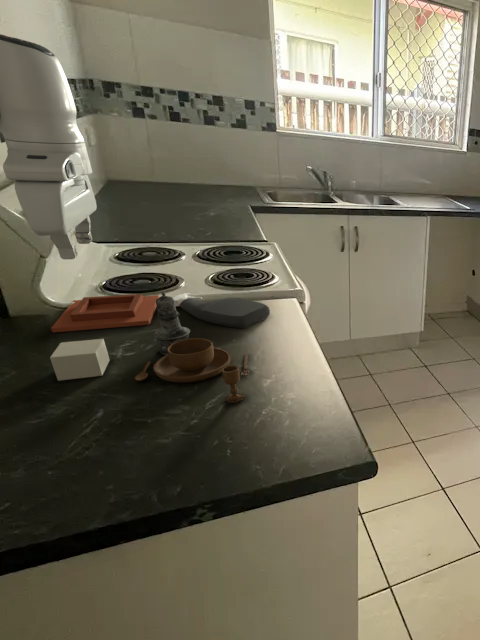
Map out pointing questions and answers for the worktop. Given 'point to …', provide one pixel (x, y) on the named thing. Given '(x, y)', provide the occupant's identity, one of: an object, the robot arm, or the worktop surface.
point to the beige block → (80, 359)
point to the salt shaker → (169, 324)
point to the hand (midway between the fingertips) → (78, 250)
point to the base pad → (107, 312)
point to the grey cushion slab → (224, 310)
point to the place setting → (197, 365)
